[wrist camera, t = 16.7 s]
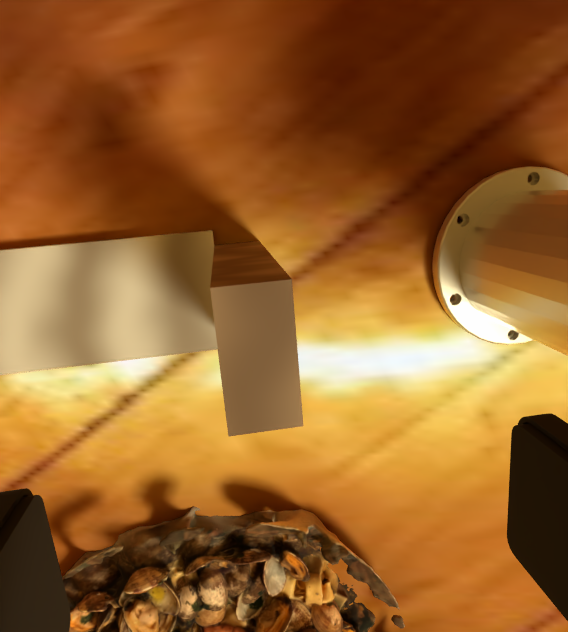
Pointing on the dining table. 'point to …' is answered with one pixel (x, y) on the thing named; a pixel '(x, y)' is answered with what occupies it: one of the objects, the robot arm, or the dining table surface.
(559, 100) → the dining table surface
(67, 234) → the dining table surface
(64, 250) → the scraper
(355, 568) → the food dish
